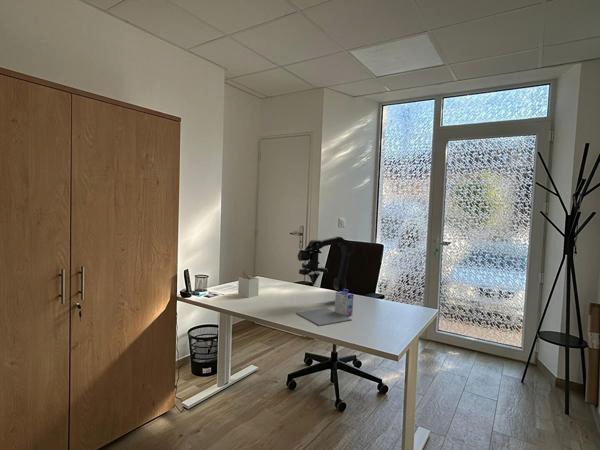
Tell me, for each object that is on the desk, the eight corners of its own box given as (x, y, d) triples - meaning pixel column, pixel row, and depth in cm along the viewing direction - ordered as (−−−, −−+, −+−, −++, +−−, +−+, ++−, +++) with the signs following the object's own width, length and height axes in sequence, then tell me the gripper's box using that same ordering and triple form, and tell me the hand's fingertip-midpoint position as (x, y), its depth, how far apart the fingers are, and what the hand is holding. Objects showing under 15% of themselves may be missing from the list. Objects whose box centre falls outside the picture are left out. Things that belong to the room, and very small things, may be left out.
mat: (326, 308, 217) (326, 307, 217) (351, 320, 197) (351, 319, 197) (295, 313, 206) (295, 312, 206) (319, 326, 185) (319, 324, 185)
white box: (247, 293, 251) (248, 270, 250) (258, 296, 244) (259, 272, 243) (237, 295, 244) (238, 271, 243) (248, 298, 237) (249, 273, 236)
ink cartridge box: (353, 314, 207) (354, 290, 206) (346, 316, 203) (348, 291, 203) (340, 310, 214) (341, 287, 214) (334, 312, 211) (335, 288, 210)
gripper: (318, 257, 237) (318, 280, 238) (294, 259, 227) (294, 283, 228) (328, 260, 227) (327, 284, 228) (303, 261, 218) (303, 286, 218)
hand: (313, 284), depth 226 cm, fingers closed
